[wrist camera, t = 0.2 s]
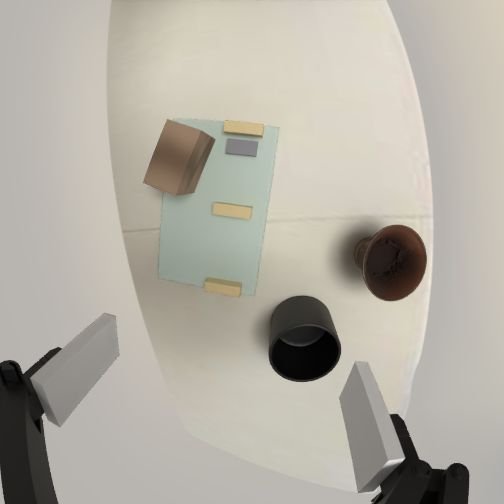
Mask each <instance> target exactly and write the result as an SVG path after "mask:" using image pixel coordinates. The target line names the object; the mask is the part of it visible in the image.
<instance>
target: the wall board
mask: <svg viewBox="0 0 504 504" xmlns="http://www.w3.org/2000/svg"><path fill="white" fill-rule="evenodd" d="M173 121H175V122H178V123H181V124H184V125H187V126H190V127H193V128H196V129H199V130H202V131H203V132H205V133H206V134H208V135H210V136H211V137H213V138H214V139H216V140H215V143H214V145H213V147H212V150H211V152H210V155H209V157H208V159H207V162H206V164H205V167H204V169H203V172H202V174H201V177H200V179H199V182H198V184H197V187H196V189H195V192H194V193H190V194H184V195H178V196H174V195H172V194H169V193H167V192H164V193H163V204H162V215H161V229H160V245H159V267H158V278H159V279H164V280H169V281H174V282H179V283H184V284H189V285H195V286H200V287H205V292H210V293H216V294H221V295H227V296H233V297H238V298H239V297H240V294H245V295H251V296H254V295H255V289H256V283H257V277H258V270H259V264H260V257H261V251H262V244H263V238H264V231H265V224H266V218H267V211H268V204H269V198H270V191H271V184H272V177H273V170H274V164H275V157H276V150H277V143H278V136H279V128H280V127H273V126H265V125H264V124H257V123H249V122H239V121H228V120H225V121H214V120H197V119H173Z"/></svg>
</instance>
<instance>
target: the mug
mask: <svg viewBox="0 0 504 504" xmlns="http://www.w3.org/2000/svg"><path fill="white" fill-rule="evenodd" d="M340 355H341V344H340V341H339V338H338V335H337V332H336V329H335V326H334V324H333V321H332V318H331V315H330V312H329V310H328V308H327V307H326V306H325V305H324V304H323V303H322V302H321V301H319V300H317V299H315V298H313V297H308V296H298V297H293V298H290V299H288V300H286V301H284V302H283V303H281V304H280V305H279V306H278V307H277V308H276V310H275V311H274V313H273V315H272V318H271V326H270V341H269V361H270V364H271V366H272V368H273V369H274V370H275V372H276V373H278V374H279V375H280V376H282V377H283V378H285V379H288V380H291V381H296V382H308V381H313V380H316V379H319V378H321V377H323V376H325V375H327V374H328V373H329V372H330V371H332V369H333V368H334V367H335V366H336V364H337V363H338V361H339V358H340Z"/></svg>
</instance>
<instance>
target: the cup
mask: <svg viewBox="0 0 504 504" xmlns="http://www.w3.org/2000/svg"><path fill="white" fill-rule="evenodd" d="M354 257H355V262H356V264H357V265H358V267H359V268H361V269H362V272H363V277H364V280H365V283H366V285H367V287H368V289H369V290H370V291H371V293H372V294H373V295H374V296H376V297H377V298H379V299H381V300H384V301H397V300H401V299H403V298H405V297H407V296H408V295H410V294H411V293H412V292H413V291H414V290H415V289H416V288H417V287H418V285H419V284H420V282H421V281H422V278H423V276H424V273H425V269H426V264H427V255H426V249H425V246H424V243H423V241H422V239H421V237H420V236H419V235H418V234H417V233H416V232H415V231H414V230H413V229H411V228H409V227H407V226H403V225H391V226H387V227H385V228H383V229H382V230H380V231H379V232H378V233H377V234H376V235H375V236H374V237H373V238H366V239H363V240H362V241H361V242H360V243H359V244H358V245H357V247H356V249H355V253H354Z"/></svg>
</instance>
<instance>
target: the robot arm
mask: <svg viewBox="0 0 504 504" xmlns="http://www.w3.org/2000/svg"><path fill="white" fill-rule="evenodd" d="M118 356H119V347H118V337H117V326H116V316H114V315H111V314H107V313H104V314H102V315H101V316H100V317H99V318H98V319H96V321H94V322H93V323H92V324H91V325H89V326H88V327H87V328H86V329H85V330H83V332H81V333H80V334H79V335H78V336H76V337H75V338H74V339H73V340H72V341H71V342H70V343H68V344H67V345H66V346H65V347H64V348H63V349H62V348H59V347H57V348H55V349H53V350H50V351H49V352H48V353H47V354H46V355H44V357H42V358H41V359H40V360H39V361H38V362H37V363H35V364H34V365H33V366H32V367H31V368H30V369H28V370H27V371H26V372H25V373H24V374H23V373H22V371H21V368H20V365H19V364H18V363H17V362H15V361H12V360H8V361H3V362H1V363H0V470H1V479H2V488H3V495H4V500H5V504H58V501H57V497H56V494H55V490H54V486H53V482H52V477H51V472H50V468H49V462H48V457H47V451H46V444H45V437H44V428H43V420H42V417H41V416H42V414H43V413H44V412H45V414H46V416H47V419H48V420H49V421H50V422H52V423H54V424H55V425H57V426H59V427H61V426H62V424H63V423H64V422H65V421H66V419H67V418H68V417H69V416H70V414H71V413H72V412H73V411H74V409H75V408H76V407H77V406H78V404H79V403H80V402H81V401H82V399H83V398H84V397H85V396H86V395H87V393H88V392H89V391H90V390H91V388H92V387H93V386H94V385H95V384H96V382H97V381H98V380H99V379H100V378H101V376H102V375H103V374H104V373H105V372H106V370H107V369H108V368H109V367H110V366H111V364H112V363H113V362H114V361H115V360H116V358H117V357H118ZM339 399H340V404H341V408H342V413H343V417H344V422H345V427H346V431H347V436H348V441H349V446H350V451H351V456H352V462H353V467H354V473H355V478H356V484H357V490H358V493H361V492H370V491H374V490H375V489H376V488H377V487H378V486H379V485H380V487H381V492H380V493H379V494H378V495H377V496H376V497H375V498H374V499H372V500H371V502H373V503H372V504H468V495H469V471H468V469H467V467H466V466H464V465H463V464H460V463H454V464H452V465H450V466H449V467H448V468H447V469H446V470H442V469H432V468H431V466H430V465H429V464H428V463H426V462H425V461H423V460H420V459H419V457H418V455H417V452H416V450H415V447H414V445H413V442H412V440H411V437H409V436H410V435H409V432H408V430H407V427H406V425H405V422H404V421H403V419H402V418H401V417H400V416H399V415H398V414H389V413H388V410H387V407H386V405H385V402H384V400H383V397H382V395H381V392H380V390H379V387H378V385H377V383H376V380H375V378H374V375H373V373H372V371H371V368H370V366H369V364H368V362H357V361H355V363H354V365H353V368H352V370H351V373H350V375H349V377H348V380H347V382H346V384H345V386H344V389H343V391H342V393H341V395H340V397H339Z"/></svg>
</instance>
